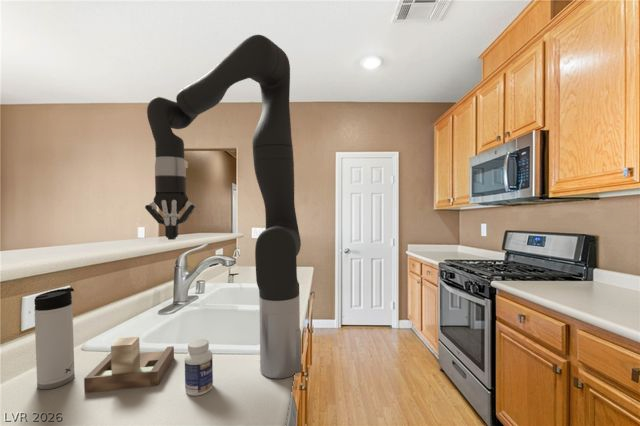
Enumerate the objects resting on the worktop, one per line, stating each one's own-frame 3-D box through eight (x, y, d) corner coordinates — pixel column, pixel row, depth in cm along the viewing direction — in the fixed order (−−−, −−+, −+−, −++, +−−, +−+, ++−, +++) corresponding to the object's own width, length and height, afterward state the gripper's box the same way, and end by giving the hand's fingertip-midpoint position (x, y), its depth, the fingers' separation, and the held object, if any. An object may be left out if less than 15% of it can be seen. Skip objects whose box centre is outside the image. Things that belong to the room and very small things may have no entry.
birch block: (140, 367, 70) (139, 336, 70) (132, 377, 66) (131, 344, 66) (120, 369, 70) (119, 338, 69) (111, 379, 66) (110, 346, 65)
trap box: (174, 358, 79) (173, 346, 78) (157, 385, 67) (157, 371, 67) (112, 363, 76) (112, 351, 76) (84, 392, 64) (84, 378, 64)
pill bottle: (203, 398, 62) (202, 349, 62) (179, 395, 63) (178, 347, 63) (217, 383, 67) (217, 338, 67) (195, 380, 69) (194, 336, 68)
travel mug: (79, 380, 69) (76, 290, 68) (39, 393, 64) (35, 296, 64) (73, 370, 73) (70, 285, 73) (35, 382, 68) (32, 291, 68)
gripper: (138, 173, 80) (140, 241, 80) (193, 174, 82) (194, 240, 83) (149, 176, 87) (150, 238, 88) (199, 176, 90) (200, 237, 90)
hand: (172, 239), depth 85 cm, fingers closed
